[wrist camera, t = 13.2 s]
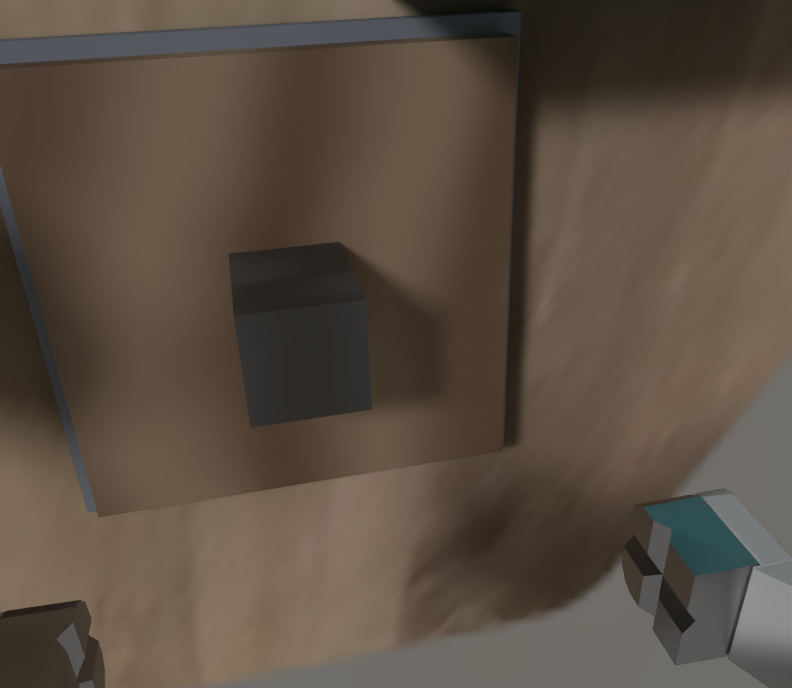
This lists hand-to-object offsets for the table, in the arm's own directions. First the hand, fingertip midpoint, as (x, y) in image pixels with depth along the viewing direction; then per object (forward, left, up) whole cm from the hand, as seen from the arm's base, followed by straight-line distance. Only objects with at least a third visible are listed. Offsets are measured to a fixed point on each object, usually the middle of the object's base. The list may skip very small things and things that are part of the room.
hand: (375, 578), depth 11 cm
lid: (0, 0, -13) cm, 12 cm away
